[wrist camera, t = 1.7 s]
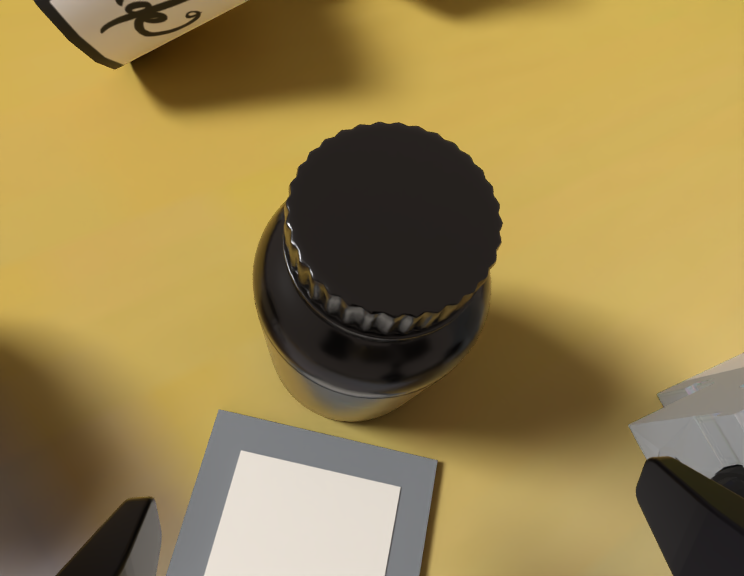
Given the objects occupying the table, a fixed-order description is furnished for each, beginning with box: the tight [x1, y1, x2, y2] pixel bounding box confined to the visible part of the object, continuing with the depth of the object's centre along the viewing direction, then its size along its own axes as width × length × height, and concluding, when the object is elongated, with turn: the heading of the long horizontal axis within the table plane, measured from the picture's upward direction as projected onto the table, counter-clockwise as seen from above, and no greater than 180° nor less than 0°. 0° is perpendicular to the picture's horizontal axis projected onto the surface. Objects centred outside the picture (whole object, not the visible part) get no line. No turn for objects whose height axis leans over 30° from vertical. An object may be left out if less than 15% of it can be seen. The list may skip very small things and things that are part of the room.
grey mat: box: [166, 410, 438, 576], centre depth 19 cm, size 9×9×1 cm
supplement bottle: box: [253, 122, 503, 422], centre depth 16 cm, size 7×7×12 cm
